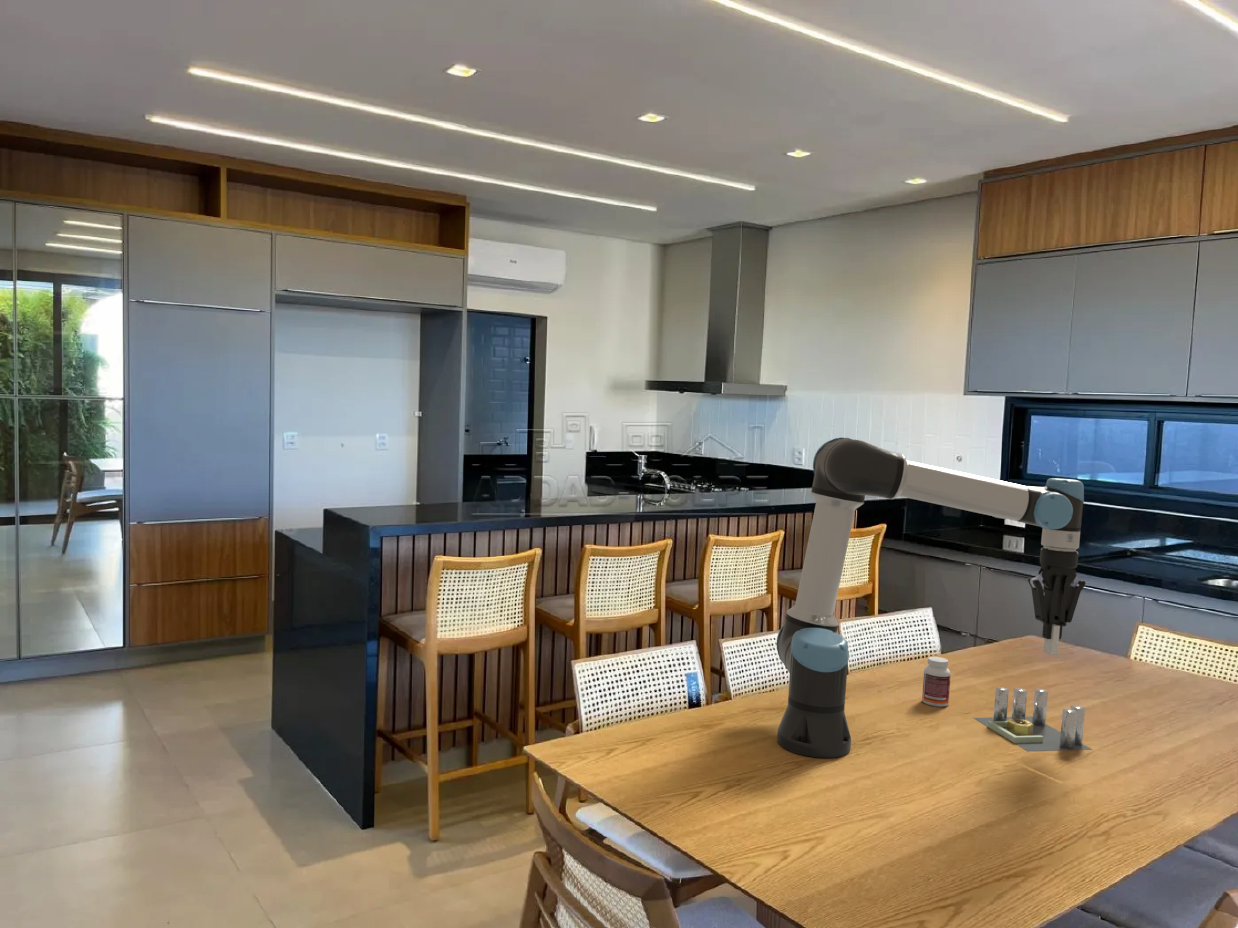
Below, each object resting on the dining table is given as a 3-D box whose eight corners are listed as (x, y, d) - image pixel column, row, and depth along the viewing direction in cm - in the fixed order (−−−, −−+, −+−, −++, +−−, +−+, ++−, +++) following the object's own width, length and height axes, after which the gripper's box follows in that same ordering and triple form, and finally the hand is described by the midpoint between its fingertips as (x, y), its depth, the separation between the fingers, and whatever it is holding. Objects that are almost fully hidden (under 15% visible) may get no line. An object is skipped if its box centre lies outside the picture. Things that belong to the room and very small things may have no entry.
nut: (1017, 737, 195) (1018, 726, 195) (1003, 728, 200) (1003, 717, 200) (1036, 737, 196) (1037, 725, 196) (1021, 728, 201) (1022, 717, 201)
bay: (1014, 742, 192) (1014, 737, 192) (987, 726, 202) (987, 721, 202) (1043, 741, 193) (1043, 736, 193) (1015, 725, 203) (1015, 720, 203)
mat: (1027, 752, 188) (1027, 750, 188) (973, 719, 207) (973, 717, 207) (1092, 751, 190) (1092, 749, 190) (1032, 718, 210) (1032, 716, 210)
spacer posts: (1040, 750, 188) (1043, 713, 188) (990, 720, 206) (993, 686, 205) (1091, 749, 191) (1094, 712, 190) (1037, 719, 208) (1040, 686, 207)
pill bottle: (953, 707, 215) (956, 662, 215) (929, 707, 214) (932, 662, 214) (940, 698, 221) (943, 655, 221) (917, 698, 221) (920, 655, 220)
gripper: (1044, 550, 191) (1035, 657, 193) (1097, 552, 194) (1087, 657, 195) (1022, 544, 199) (1013, 648, 200) (1074, 546, 201) (1064, 648, 203)
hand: (1050, 652), depth 198 cm, fingers closed
